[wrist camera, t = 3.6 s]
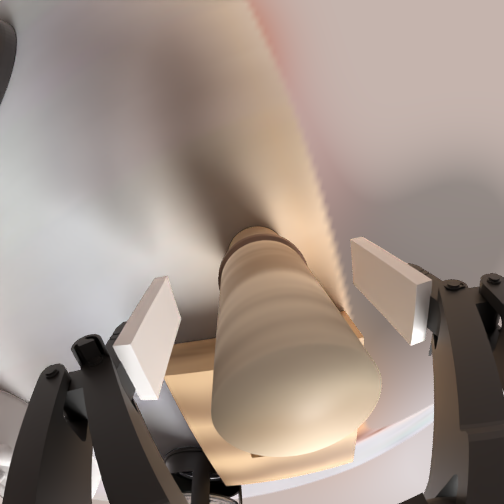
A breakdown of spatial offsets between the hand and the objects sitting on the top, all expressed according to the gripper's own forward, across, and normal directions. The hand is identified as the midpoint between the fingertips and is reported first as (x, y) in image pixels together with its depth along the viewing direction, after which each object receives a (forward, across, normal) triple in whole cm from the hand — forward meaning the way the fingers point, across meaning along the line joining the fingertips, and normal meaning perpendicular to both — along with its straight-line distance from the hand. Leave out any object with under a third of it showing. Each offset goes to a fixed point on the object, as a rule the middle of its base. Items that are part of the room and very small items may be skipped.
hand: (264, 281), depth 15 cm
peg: (+5, 0, 0) cm, 5 cm away
